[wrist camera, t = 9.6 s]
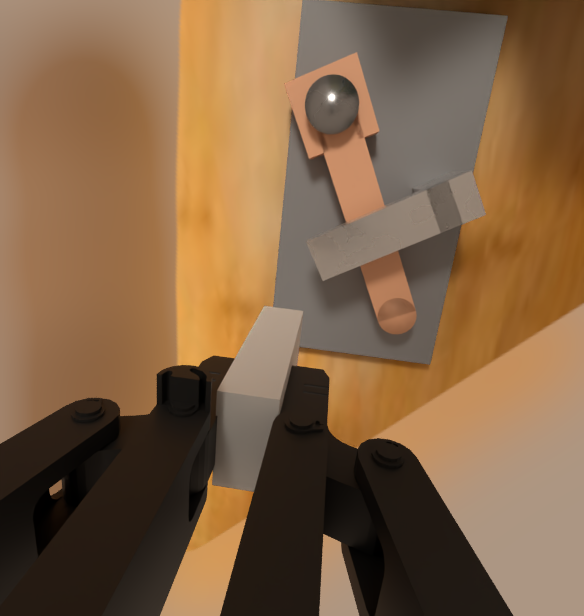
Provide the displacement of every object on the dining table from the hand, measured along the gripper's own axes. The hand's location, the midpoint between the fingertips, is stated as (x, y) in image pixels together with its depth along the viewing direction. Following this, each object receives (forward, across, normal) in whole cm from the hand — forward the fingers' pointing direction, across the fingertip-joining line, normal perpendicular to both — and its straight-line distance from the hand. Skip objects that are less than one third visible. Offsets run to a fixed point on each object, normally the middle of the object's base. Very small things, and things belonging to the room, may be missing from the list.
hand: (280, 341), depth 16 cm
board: (+21, +4, +4) cm, 22 cm away
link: (+19, +4, +4) cm, 20 cm away
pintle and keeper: (+20, +4, +5) cm, 21 cm away
